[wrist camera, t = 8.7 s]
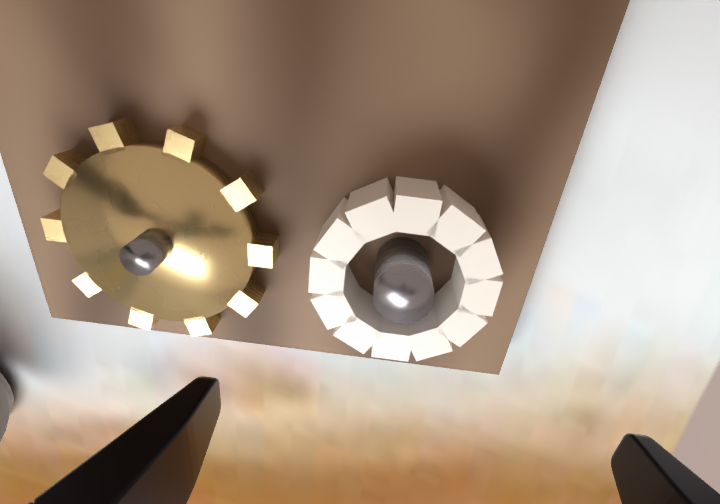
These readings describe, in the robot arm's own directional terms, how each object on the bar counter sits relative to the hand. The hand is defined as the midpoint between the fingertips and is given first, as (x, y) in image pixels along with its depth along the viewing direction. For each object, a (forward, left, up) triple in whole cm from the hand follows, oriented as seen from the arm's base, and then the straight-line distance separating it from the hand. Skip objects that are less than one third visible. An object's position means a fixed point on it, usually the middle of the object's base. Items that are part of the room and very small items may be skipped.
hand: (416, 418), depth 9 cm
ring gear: (0, 0, -7) cm, 7 cm away
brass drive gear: (-9, 0, -7) cm, 12 cm away
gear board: (-5, +4, -9) cm, 11 cm away
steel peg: (0, 0, -7) cm, 7 cm away
